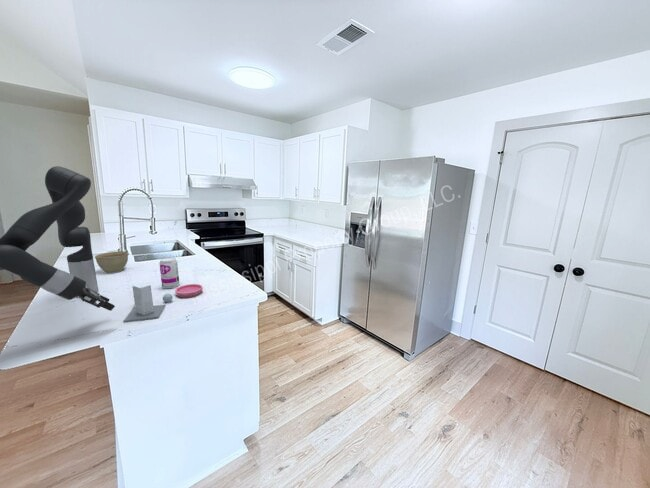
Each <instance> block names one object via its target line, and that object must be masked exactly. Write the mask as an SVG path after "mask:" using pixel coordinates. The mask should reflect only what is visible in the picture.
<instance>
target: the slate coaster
mask: <svg viewBox="0 0 650 488" xmlns="http://www.w3.org/2000/svg"><path fill="white" fill-rule="evenodd" d="M153 308H154V312H152V313H149V314H146V315H142V314H139V313H136V310H135V307H133V308H132V309H131V311H130V312H129V313H128V315H127V316H126V317H124V320H123V323H130V322H131V323H132V322H140V321H147V320H149V321H150V320H156V319H159V318H160V317H161V315H162V313H163V312H164V310H165V308H166V304H160V305H159V304H157V305H153Z"/></svg>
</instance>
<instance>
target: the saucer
mask: <svg viewBox="0 0 650 488" xmlns="http://www.w3.org/2000/svg"><path fill="white" fill-rule="evenodd" d="M203 288H204V287H203V285H201V284H198V283H190V284H189V283H188V284H184V285H183V284H182V285H179V286H177V287H175V290H174V292H175V294H176V295H177V296H179V297H180V298H192V297H195V296H198V295H199V294H200V293H202V291H203Z"/></svg>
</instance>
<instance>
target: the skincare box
mask: <svg viewBox="0 0 650 488" xmlns="http://www.w3.org/2000/svg"><path fill="white" fill-rule="evenodd" d="M131 287H132V294H133V301H134V308H135V310H136V313H139V314H142V315H146V314H149V313H152V312H154V308H153V306H154V302H153V300H154V299H153V294H152V293H153V292H152V285H151V284H148V283H144V282H140V283H137V284H133V285H131Z"/></svg>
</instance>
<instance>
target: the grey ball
mask: <svg viewBox="0 0 650 488" xmlns="http://www.w3.org/2000/svg"><path fill="white" fill-rule="evenodd" d="M173 297H174V296H173V295H172V294H171V293H165V294H164V295H163V296H162V301H163V302H164V303H170V302H172V300H173Z"/></svg>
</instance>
